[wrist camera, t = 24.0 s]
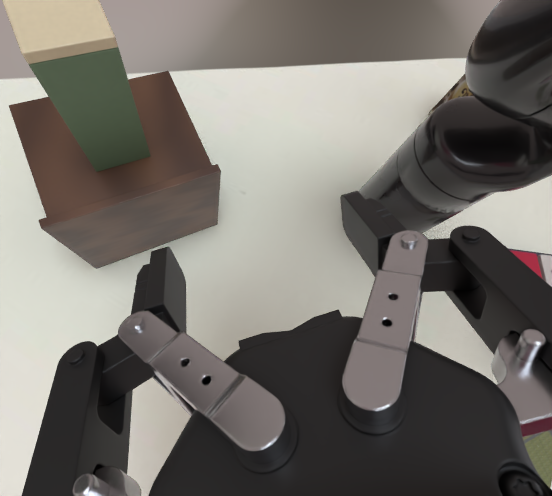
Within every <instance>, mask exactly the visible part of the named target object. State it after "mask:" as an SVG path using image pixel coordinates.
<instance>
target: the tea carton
mask: <svg viewBox="0 0 552 496" xmlns="http://www.w3.org/2000/svg"><path fill="white" fill-rule="evenodd" d="M2 1H3V4H4V7H5V9H6V12H7V15H8V18H9V20H10V23H11V26H12V28H13V31H14V34H15V37H16V39H17V42H18V45H19V48H20V50H21V53H22V55H23V56H24V58H25V60H26V61H27V63H28V64H29V66H30V68H31V69H32V71H33V72H34V74H35V75H36V77H37V79H38V80H39V82H40V83H41V85H42V87H43V88H44V90H45V91H46V93H47V95H48V96H49V98H50V99H51V101H52V102H53V104H54V106H55V107H56V109H57V110H58V112H59V114H60V115H61V117H62V118H63V120H64V121H65V123H66V125H67V126H68V128H69V129H70V131H71V133H72V134H73V136H74V137H75V139H76V140H77V142H78V144H79V145H80V147H81V148H82V150H83V152H84V153H85V155H86V156H87V158H88V159H89V161H90V163H91V164H92V166H93V167H94V169H95V171H96V172H98V171H102V170H105V169H109V168H112V167H116V166H119V165H122V164H126V163H129V162H133V161H136V160H140V159H143V158H147V157H150V156H151V155H150V152H149V148H148V145H147V142H146V138H145V135H144V132H143V128H142V125H141V122H140V118H139V115H138V112H137V108H136V105H135V102H134V98H133V95H132V92H131V88H130V85H129V82H128V78H127V75H126V72H125V69H124V65H123V62H122V59H121V55H120V52H119V48H118V45H117V42H116V39H115V36H114V33H113V31H112V29H111V27H110V24H109V22H108V20H107V17H106V15H105V13H104V11H103V8H102V6H101V4H100V1H99V0H2Z"/></svg>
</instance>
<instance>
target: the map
mask: <svg viewBox="0 0 552 496" xmlns="http://www.w3.org/2000/svg"><path fill="white" fill-rule="evenodd" d="M523 440H524V444H525V447H526V449H527V452H528V454H529V457H530V459H531V461H532V463H533V465H534V467H535V469H536V470H537V472H538V474H539V475H540V477H541V478H542V479H543V481H544V482H545V483H546V484H547V486H548V487H549V488H550V486H551V481H552V430H550V431H546V432H542V433H538V434H534V435H531V436H527V437H523Z"/></svg>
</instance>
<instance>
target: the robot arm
mask: <svg viewBox="0 0 552 496" xmlns="http://www.w3.org/2000/svg"><path fill="white" fill-rule="evenodd" d="M465 76H466V82H467V85H468V87H469V89H470V91H471V93H472V94H473V96H464V97H458V98H454V99H451V100H449V101H446V102H445V103H443V104H441V105H440V106H439V107H437V108H436V109H435V110H434V111H433V112H432V113H431V114H430V115H429V116H428V117H427V118H426V119H425V120H424V121H423V123H422V124H421V125H420V126H419V127H418V128H417V129H416V130H415V131H414V132H413V133H412V134H411V135H410V136H409V138H408V139H407V140H406V141H405V142H404V143H403V144H402V145H401V146H400V147H399V148H398V150H397V151H396V152H395V153H394V154H393V155H392V156H391V157H390V158H389V159H388V160H387V161H386V162H385V163H384V165H383V166H382V167H381V168H380V169H379V170H378V171H377V172H376V173H375V174H374V175H373V176H372V177H371V178H370V179H369V181H368V182H367V183H366V184H365V185H364V186H363V187H362V188H361V189H360V190H359V191H355V192H351V193H348V194H345V195H342V196H341V209H342V220H343V227H344V230H345V233H346V235H347V236H348V238H349V239H350V241H351V242H352V244H353V245H354V247H355V248H356V250H357V251H358V253H359V254H360V255H361V257H362V258H363V260H364V261H365V263H366V264H367V266H368V267H369V269H370V270H371V272H372V273H373V274H374V276H375V281H374V284H373V287H372V290H371V294H370V297H369V300H368V303H367V307H366V310H365V313H364V316H363V318H359V317H347V316H346V317H342V316H341V314H340V312H339V310H335V311H332V312H329V313H326V314H323V315H319V316H316V317H314V318H312V319H310V320H308V321H307V322H305V323H303V324H301V325H300V326H298V327H296V328H294V329H293V330H290V331H281V332H270V333H262V334H259V335H256V336H253V337H249V338H246V339H243V340H240V341H239V347H240V349H239V350H237V351H236V352H234V353H233V354H232V355H230V356H229V357H228V358H227V359H226V360H225V361H224V362H223V361H222V360H221V359H219V358H218V357H217V356H215V355H214V354H213V353H211V352H210V351H209V350H207V349H206V348H205V347H203V346H202V345H201V344H199V343H198V342H197V341H195V340H194V339H193V338H191V337H190V336H189V335H187V334H186V281H185V277H184V274H183V272H182V270H181V268H180V266H179V264H178V262H177V260H176V258H175V256H174V254H173V252H172V250H171V249H170V248H169V247H165V248H162V249H158V250H155V251H152V252H151V258H150V264H147V265H144V266H143V267H142V268H141V270H140V272H139V273H138V275H137V281H136V284H137V285H136V287H135V293H134V299H133V305H132V311H131V315H130V316H129V317H127V318H126V319H125V320H124V321H123V322H122V324H121V325H120V327H119V330H118V335H116V336H115V337H113V338H112V339H110V340H108V341H106V342H105V343H103V344H101V345H99V346H98V347H97V346H96V344H95V343H93V342H90V341H86V342H81V343H79V344H77V345H75V346H73V347H72V348H70V349H69V350H68V351H67V352H66V353H65V354H64V355H63V356H62V358H61V359H60V361H59V363H58V366H57V370H56V373H55V377H54V381H53V384H52V388H51V391H50V395H49V399H48V402H47V406H46V410H45V413H44V417H43V420H42V424H41V428H40V431H39V435H38V439H37V442H36V446H35V450H34V453H33V457H32V460H31V464H30V468H29V471H28V475H27V479H26V482H25V486H24V489H23V493H22V496H141V489H140V486H139V484H138V483H137V482H136V481H135V480H134V479H132V478H131V477H130V476H128V475H127V468H128V452H129V437H130V421H131V406H132V390H133V389H134V388H136V387H137V386H139V385H141V384H142V383H144V382H145V381H147V380H149V379H150V378H153V379H154V380H155V381H156V382H157V383H158V384H160V385H161V386H162V387H163V388H164V389H165V390H166V391H167V392H168V393H169V394H170V395H171V396H172V397H173V398H174V399H175V400H176V401H177V402H178V403H179V404H180V405H181V406H182V407H183V408H184V410H185V411H186V412H187V413H188V414H189V415H190V416H191V417H190V419H189V421H188V423H187V424H186V426H185V428H184V430H183V431H182V433H181V435H180V437H179V439H178V440H177V442H176V444H175V446H174V447H173V449H172V451H171V453H170V454H169V456H168V458H167V460H166V461H165V463H164V465H163V467H162V468H161V470H160V472H159V474H158V476H157V477H156V479H155V481H154V483H153V485H152V488H151V490H150V493H149V496H552V490H551V489H550V488H549V487H548V486H547V484H546V483H545V482H544V481H543V479H542V478H541V477H540V475H539V474H538V472H537V470H536V469H535V467H534V465H533V463H532V461H531V459H530V457H529V454H528V452H527V449H526V447H525V444H524V440H523V437H527V436H531V435H534V434H538V433H542V432H546V431H550V430H552V287H551V286H550V285H549V284H548V283H547V282H546V281H544V280H543V279H542V278H541V277H540V276H539V275H538V274H536V273H535V272H534V271H533V270H532V269H531V268H529V267H528V266H527V265H526V264H525V263H524V262H522V261H521V260H520V259H519V258H518V257H517V256H516V255H514V254H513V253H512V252H511V251H510V250H509V249H507V248H506V247H505V246H504V245H503V244H502V243H501V242H499V241H498V240H497V239H496V238H495V237H494V236H492V235H491V234H490V233H489V232H488V231H486V230H485V229H482V228H480V227H476V226H461V227H458V228H455V229H454V230H453V231H452V232H451V234H450V238H446V239H427V237H426V236H425V235H423V234H422V233H423V232H425V231H427V230H429V229H431V228H432V227H434V226H436V225H438V224H440V223H441V222H443V221H445V220H447V219H449V218H450V217H452V216H454V215H456V214H458V213H459V212H461V211H463V210H464V209H466V208H468V207H470V206H472V205H473V204H475V203H477V202H479V201H481V200H482V199H484V198H486V197H488V196H490V195H492V194H494V193H496V192H505V191H512V190H517V189H520V188H523V187H526V186H529V185H531V184H533V183H535V182H538V181H540V180H542V179H544V178H546V177H549V176H551V175H552V0H500V1H499V3H498V4H497V5H496V6H495V7H494V9H493V10H492V11H491V13H490V14H489V15H488V17H487V18H486V20H485V21H484V23H483V24H482V26H481V27H480V29H479V31H478V33H477V35H476V36H475V39H474V40H473V42H472V45H471V47H470V50H469V53H468V56H467V60H466V68H465ZM433 291H445V292H446V294H447V295H448V296H449V298H450V299H451V300H452V301H453V303H454V304H455V305H456V307H457V308H458V309H459V310H460V312H461V313H462V314H463V315H464V317H465V318H466V319H467V321H468V322H469V323H470V324H471V326H472V327H473V328H474V330H475V331H476V332H477V333H478V335H479V336H480V337H481V338H482V340H483V341H484V342H485V344H486V345H487V346H488V347H489V349H490V350H491V351H492V353H493V354H494V358H493V361H492V364H491V368H492V372H493V374H494V376H495V378H496V380H497V382H498V385H496V384H495V383H493V382H492V381H491V380H490V379H488V378H487V377H485V376H484V375H482V374H480V373H478V372H476V371H474V370H472V369H470V368H468V367H466V366H464V365H462V364H460V363H458V362H456V361H453V360H451V359H449V358H447V357H445V356H443V355H441V354H439V353H437V352H435V351H433V350H431V349H428V348H426V347H424V346H422V345H420V344H418V343H416V342H415V338H416V331H417V324H418V318H419V312H420V306H421V300H422V294H423V292H433Z"/></svg>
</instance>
